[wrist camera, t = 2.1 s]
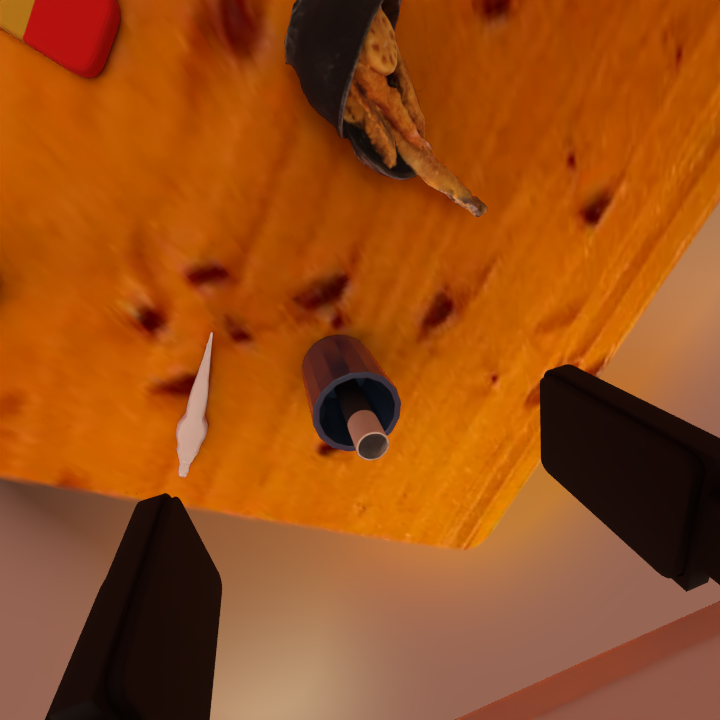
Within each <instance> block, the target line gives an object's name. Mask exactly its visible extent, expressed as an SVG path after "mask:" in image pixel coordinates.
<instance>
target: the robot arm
mask: <svg viewBox="0 0 720 720" xmlns="http://www.w3.org/2000/svg"><path fill="white" fill-rule="evenodd" d="M540 424H541V461H542V464H543V466H544V468H545V470H546V471H547V472H548V473H549V474H550V475H551V476H552V477H553V478H554V479H556V480H557V481H558V482H559V483H560V484H561V485H562V486H563V487H564V488H566V489H567V490H568V491H569V492H570V493H571V494H572V495H573V496H574V497H576V498H577V499H578V500H579V501H580V502H581V503H582V504H583V505H584V506H585V507H586V508H588V509H589V510H590V511H591V512H592V513H593V514H594V515H595V516H596V517H597V518H599V519H600V520H601V521H602V522H603V523H604V524H606V526H607V527H609V528H610V529H611V530H612V531H613V532H614V533H615V534H616V535H617V536H618V537H619V538H621V539H622V540H623V541H624V542H625V543H626V544H627V545H628V546H629V547H631V548H632V549H633V550H634V551H635V552H636V553H637V554H638V555H639V556H640V557H642V558H643V559H644V560H645V561H646V562H647V563H648V564H649V565H650V566H652V567H653V568H654V569H655V570H656V571H657V572H658V573H659V574H661V575H662V576H664V577H666V578H672V579H673V580H674V581H675V582H676V583H677V584H679V585H680V586H681V587H682V588H683V589H684V590H685V591H686V592H687V591H689V590H691V589H693V588H696V587H698V586H700V585H703V584H705V583H707V582H708V580H709V577H711V578H712V579H713V580H714V581H715V582H717V583H718V584H719V585H720V438H718V437H716V436H714V435H712V434H710V433H708V432H706V431H704V430H702V429H700V428H698V427H696V426H694V425H692V424H690V423H688V422H686V421H684V420H682V419H680V418H678V417H676V416H674V415H672V414H670V413H668V412H666V411H664V410H662V409H659V408H657V407H656V406H653V405H652V404H649V403H648V402H646V401H643V400H641V399H639V398H637V397H635V396H633V395H631V394H629V393H627V392H625V391H623V390H621V389H619V388H617V387H615V386H613V385H611V384H609V383H607V382H605V381H603V380H601V379H599V378H597V377H595V376H593V375H591V374H589V373H587V372H585V371H583V370H581V369H579V368H577V367H575V366H573V365H569V364H568V365H563V366H560V367H557V368H554V369H551V370H548V371H547V372H545V374H544V378H542V379H541V381H540ZM221 596H222V582H221V578H220V575H219V572H218V571H217V569H216V567H215V565H214V563H213V561H212V559H211V557H210V555H209V553H208V552H207V550H206V548H205V546H204V544H203V542H202V540H201V538H200V536H199V534H198V532H197V531H196V529H195V527H194V525H193V523H192V521H191V519H190V517H189V515H188V513H187V511H186V510H185V508H184V506H183V504H182V502H181V500H180V499H179V498H178V497H173V498H171V497H170V495H168V494H166V493H164V494H161V495H158V496H155V497H152V498H149V499H146V500H143V501H140V502H138V504H137V505H136V507H135V510H134V512H133V514H132V517H131V519H130V521H129V524H128V526H127V529H126V531H125V533H124V536H123V539H122V541H121V543H120V546H119V548H118V550H117V553H116V555H115V558H114V560H113V562H112V565H111V567H110V570H109V572H108V575H107V577H106V579H105V580H104V582H103V584H102V586H101V588H100V590H99V592H98V594H97V597H96V599H95V602H94V604H93V606H92V609H91V611H90V613H89V616H88V618H87V621H86V623H85V626H84V628H83V630H82V633H81V635H80V637H79V640H78V642H77V644H76V647H75V649H74V652H73V654H72V656H71V659H70V661H69V663H68V666H67V668H66V671H65V673H64V675H63V678H62V680H61V683H60V685H59V687H58V690H57V692H56V695H55V697H54V699H53V702H52V704H51V706H50V709H49V711H48V713H47V716H46V718H45V720H210V710H211V700H212V689H213V678H214V669H215V658H216V648H217V638H218V627H219V617H220V607H221ZM455 720H720V601H719V602H717V603H714V604H712V605H710V606H708V607H705V608H703V609H701V610H698V611H696V612H694V613H692V614H689V615H687V616H685V617H683V618H680V619H678V620H676V621H674V622H671V623H669V624H667V625H665V626H662V627H660V628H658V629H656V630H654V631H651V632H649V633H647V634H644V635H642V636H640V637H638V638H636V639H633V640H631V641H629V642H627V643H624V644H622V645H620V646H617V647H615V648H613V649H611V650H608V651H607V652H604V653H602V654H600V655H598V656H595V657H593V658H591V659H588V660H586V661H584V662H582V663H580V664H577V665H575V666H573V667H571V668H568V669H566V670H564V671H562V672H560V673H557V674H555V675H553V676H551V677H548V678H546V679H544V680H542V681H540V682H537V683H535V684H533V685H531V686H528V687H526V688H524V689H522V690H520V691H518V692H515V693H513V694H511V695H509V696H506V697H504V698H502V699H500V700H497V701H495V702H493V703H491V704H489V705H486V706H484V707H482V708H480V709H478V710H476V711H473V712H471V713H469V714H467V715H464V716H462V717H460V718H458V719H455Z"/></svg>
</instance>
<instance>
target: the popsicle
mask: <svg viewBox="0 0 720 720" xmlns="http://www.w3.org/2000/svg"><path fill="white" fill-rule="evenodd" d="M119 22H120V8H119V5H118V3H117V0H0V28H2V29H3V30H5V31H6V32H8V33H10V34H11V35H13V36H15V37H16V38H18V39H19V40H21V41H23V42H24V43H26V44H27V45H29V46H31V47H32V48H34V49H36V50H37V51H39V52H40V53H42V54H44V55H45V56H47V57H48V58H50V59H52V60H53V61H55V62H56V63H58V64H60V65H61V66H63V67H65V68H66V69H68V70H69V71H71V72H73V73H75V74H77V75H79V76H82V77H87V78H91V77H95V76H97V75H98V74H99V73H100V72H101V71H102V69H103V67H104V65H105V62H106V59H107V57H108V54H109V51H110V48H111V46H112V43H113V40H114V37H115V35H116V32H117V29H118V26H119Z"/></svg>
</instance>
